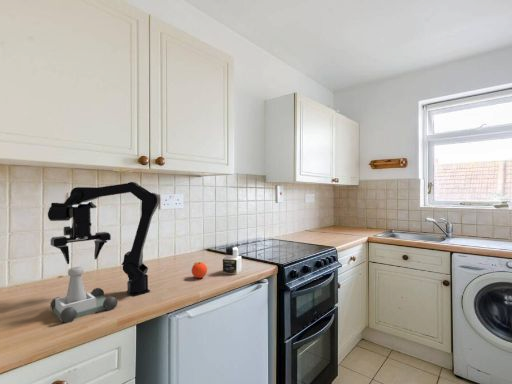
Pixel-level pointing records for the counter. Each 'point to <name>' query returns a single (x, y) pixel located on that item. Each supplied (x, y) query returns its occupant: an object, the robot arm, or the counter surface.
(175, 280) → the counter surface
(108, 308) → the toy wheeled cart
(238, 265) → the medicine bottle
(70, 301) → the salt shaker
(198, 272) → the clementine
